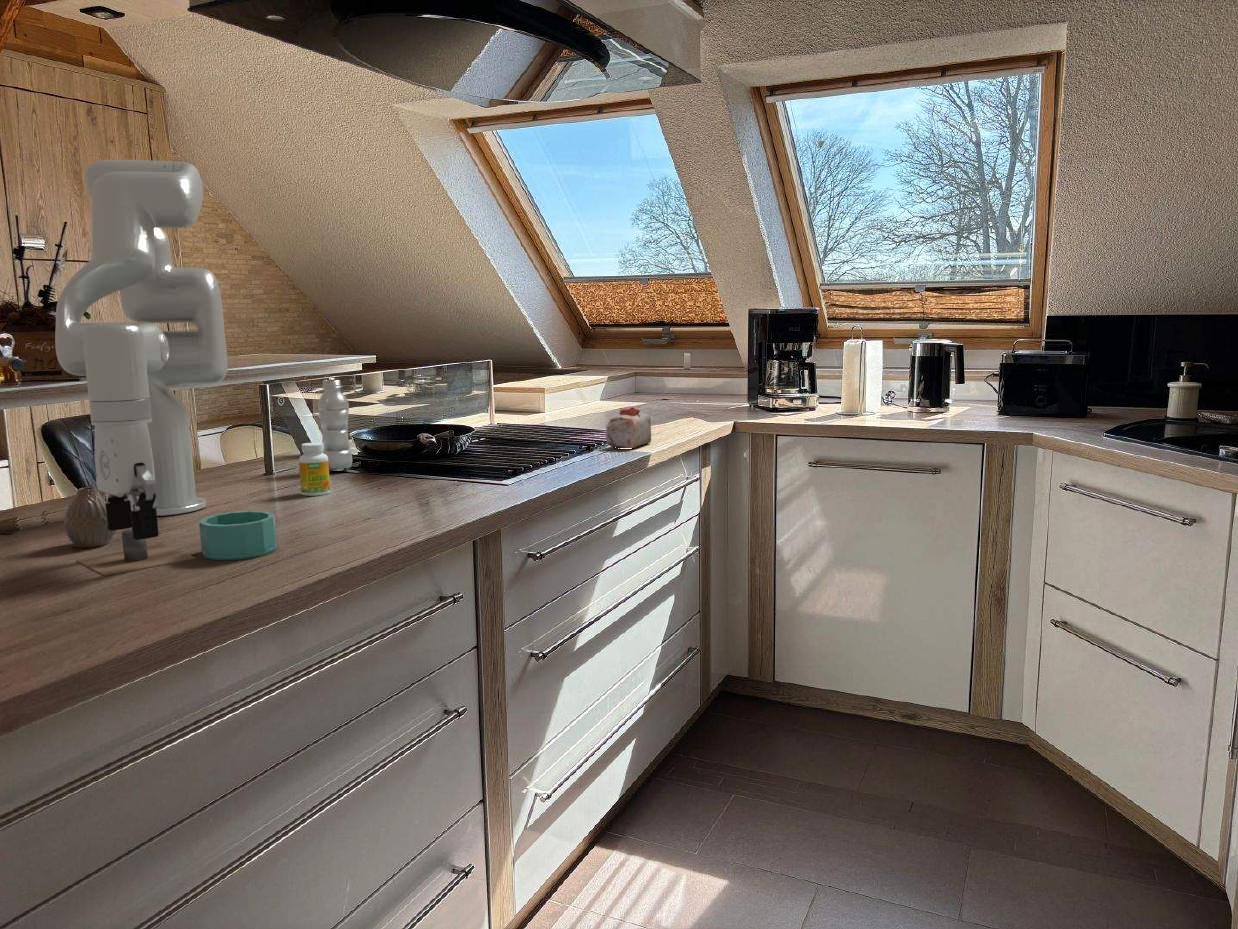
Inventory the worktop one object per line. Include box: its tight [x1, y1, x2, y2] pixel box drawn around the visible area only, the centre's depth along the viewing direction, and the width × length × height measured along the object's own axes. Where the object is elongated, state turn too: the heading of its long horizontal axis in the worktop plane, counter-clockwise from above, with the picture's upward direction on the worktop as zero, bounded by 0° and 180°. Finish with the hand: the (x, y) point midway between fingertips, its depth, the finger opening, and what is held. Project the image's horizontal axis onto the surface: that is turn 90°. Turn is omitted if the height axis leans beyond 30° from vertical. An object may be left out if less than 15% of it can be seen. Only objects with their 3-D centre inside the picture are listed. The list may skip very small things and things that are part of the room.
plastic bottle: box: [317, 379, 353, 470], centre depth 207 cm, size 6×7×20 cm
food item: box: [605, 407, 652, 449], centre depth 238 cm, size 14×8×10 cm, turn 157°
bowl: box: [198, 510, 277, 561], centre depth 139 cm, size 10×10×5 cm
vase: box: [63, 486, 116, 549], centre depth 144 cm, size 7×7×9 cm
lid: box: [76, 529, 197, 578], centre depth 135 cm, size 12×12×5 cm
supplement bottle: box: [298, 442, 331, 497], centre depth 182 cm, size 5×5×10 cm
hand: (133, 533), depth 134 cm, fingers open, 9 cm apart
